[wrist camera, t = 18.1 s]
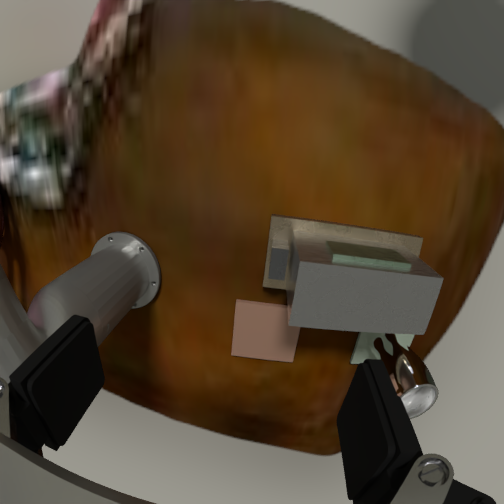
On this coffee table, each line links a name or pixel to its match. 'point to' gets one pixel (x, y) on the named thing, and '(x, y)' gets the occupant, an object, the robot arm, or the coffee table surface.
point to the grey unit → (350, 276)
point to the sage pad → (363, 350)
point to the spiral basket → (1, 219)
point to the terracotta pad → (263, 332)
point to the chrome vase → (405, 372)
